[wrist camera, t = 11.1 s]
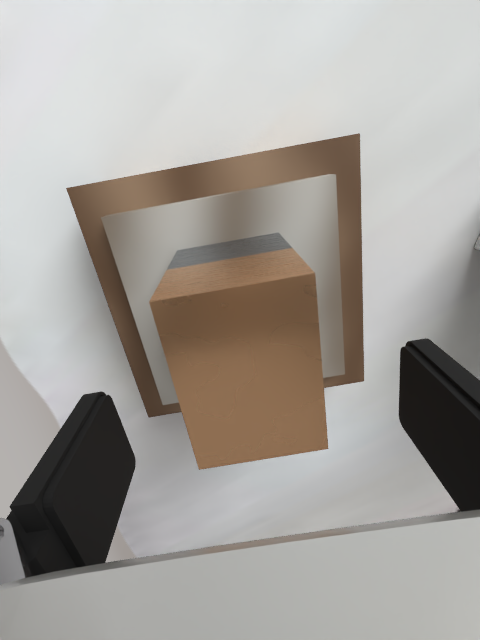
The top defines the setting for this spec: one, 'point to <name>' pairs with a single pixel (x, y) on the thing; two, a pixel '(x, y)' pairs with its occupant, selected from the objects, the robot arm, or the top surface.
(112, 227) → the walnut stand
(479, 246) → the skincare box
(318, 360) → the block
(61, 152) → the top surface
